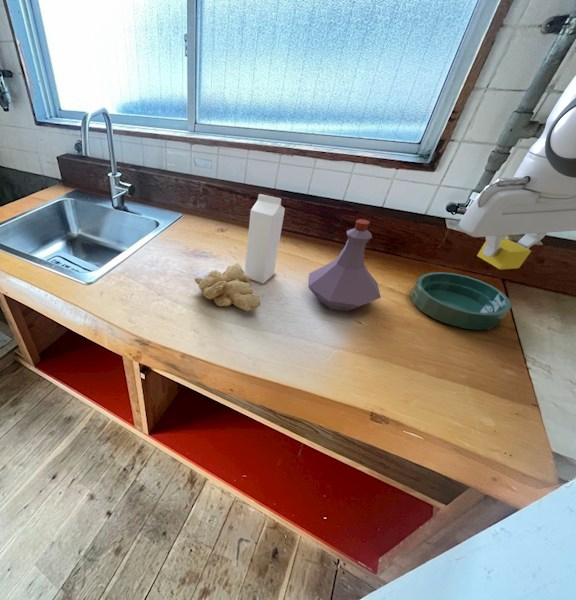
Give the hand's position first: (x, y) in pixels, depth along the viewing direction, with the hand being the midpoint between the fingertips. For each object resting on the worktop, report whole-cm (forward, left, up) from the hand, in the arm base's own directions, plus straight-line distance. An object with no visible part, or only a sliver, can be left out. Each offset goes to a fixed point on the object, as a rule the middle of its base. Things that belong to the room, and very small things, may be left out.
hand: (502, 254), depth 58 cm
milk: (+26, +35, -18) cm, 47 cm away
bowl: (+7, -5, -18) cm, 20 cm away
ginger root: (+17, +46, -18) cm, 53 cm away
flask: (+13, +19, -18) cm, 29 cm away
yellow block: (0, 0, -2) cm, 2 cm away
